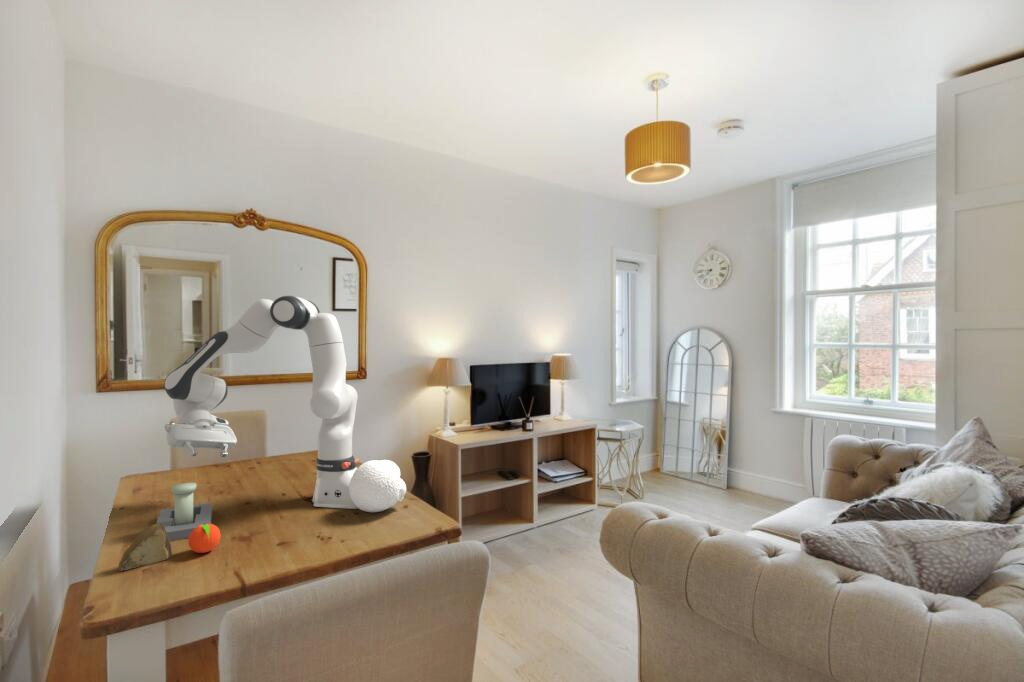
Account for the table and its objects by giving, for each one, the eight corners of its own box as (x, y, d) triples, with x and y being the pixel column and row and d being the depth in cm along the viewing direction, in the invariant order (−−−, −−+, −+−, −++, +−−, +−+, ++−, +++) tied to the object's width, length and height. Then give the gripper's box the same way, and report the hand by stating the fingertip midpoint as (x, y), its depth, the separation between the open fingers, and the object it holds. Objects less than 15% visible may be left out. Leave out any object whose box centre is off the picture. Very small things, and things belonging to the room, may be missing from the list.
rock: (108, 568, 107) (159, 556, 110) (113, 532, 111) (162, 521, 115) (127, 579, 115) (174, 567, 118) (131, 544, 119) (176, 534, 123)
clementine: (224, 553, 120) (225, 525, 120) (192, 562, 115) (192, 532, 115) (216, 543, 126) (217, 516, 126) (185, 551, 121) (185, 523, 121)
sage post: (201, 527, 137) (201, 483, 137) (181, 535, 131) (181, 489, 131) (186, 524, 139) (186, 481, 139) (166, 532, 133) (166, 487, 133)
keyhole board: (161, 517, 144) (161, 509, 144) (212, 510, 151) (212, 502, 151) (151, 544, 125) (151, 534, 125) (210, 534, 132) (210, 525, 132)
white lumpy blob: (331, 517, 145) (332, 464, 145) (360, 498, 163) (361, 451, 162) (393, 523, 142) (394, 469, 141) (415, 502, 159) (416, 455, 159)
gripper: (168, 414, 149) (179, 446, 142) (232, 421, 166) (245, 449, 159) (157, 429, 150) (168, 461, 142) (222, 434, 167) (235, 463, 160)
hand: (209, 455), depth 151 cm, fingers open, 8 cm apart
